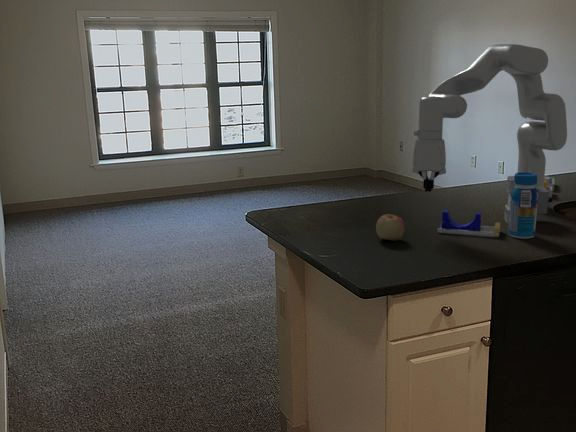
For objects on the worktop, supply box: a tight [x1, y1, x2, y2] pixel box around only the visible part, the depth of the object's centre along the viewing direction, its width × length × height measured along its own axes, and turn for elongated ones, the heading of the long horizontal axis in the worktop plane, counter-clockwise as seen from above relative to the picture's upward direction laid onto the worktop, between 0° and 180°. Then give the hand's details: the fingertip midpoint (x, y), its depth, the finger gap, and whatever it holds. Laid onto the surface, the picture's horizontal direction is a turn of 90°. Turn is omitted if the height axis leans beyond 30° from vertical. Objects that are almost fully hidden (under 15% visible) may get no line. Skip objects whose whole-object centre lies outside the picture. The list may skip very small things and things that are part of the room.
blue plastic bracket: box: [440, 209, 482, 231], centre depth 208 cm, size 12×4×6 cm, turn 69°
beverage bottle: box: [507, 172, 538, 240], centre depth 200 cm, size 8×8×20 cm
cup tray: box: [546, 176, 555, 192], centre depth 271 cm, size 15×15×3 cm
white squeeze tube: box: [437, 221, 502, 239], centre depth 207 cm, size 8×19×3 cm, turn 69°
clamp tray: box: [506, 186, 553, 199], centre depth 257 cm, size 9×17×3 cm, turn 69°
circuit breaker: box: [503, 175, 553, 224], centre depth 218 cm, size 8×14×15 cm, turn 78°
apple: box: [375, 213, 406, 242], centre depth 200 cm, size 9×9×8 cm
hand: (428, 190), depth 209 cm, fingers closed
